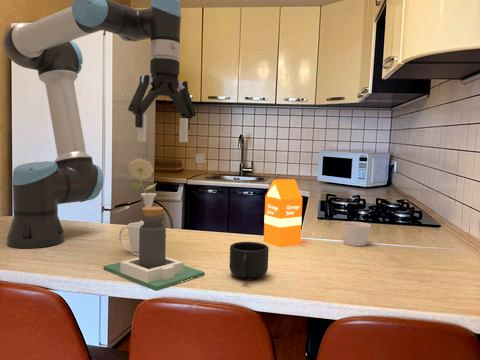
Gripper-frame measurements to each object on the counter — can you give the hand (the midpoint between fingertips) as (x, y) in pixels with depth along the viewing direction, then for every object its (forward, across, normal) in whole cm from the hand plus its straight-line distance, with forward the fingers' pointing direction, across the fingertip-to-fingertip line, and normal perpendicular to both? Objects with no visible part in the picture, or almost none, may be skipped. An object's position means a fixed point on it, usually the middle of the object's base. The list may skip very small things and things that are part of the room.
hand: (163, 141), depth 111 cm
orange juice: (+31, +36, -14) cm, 50 cm away
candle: (+30, +53, -30) cm, 68 cm away
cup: (+31, -4, +6) cm, 32 cm away
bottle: (+30, -12, -13) cm, 35 cm away
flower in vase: (+31, +10, +20) cm, 38 cm away
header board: (+30, -11, -11) cm, 34 cm away
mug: (+31, +3, -29) cm, 42 cm away
